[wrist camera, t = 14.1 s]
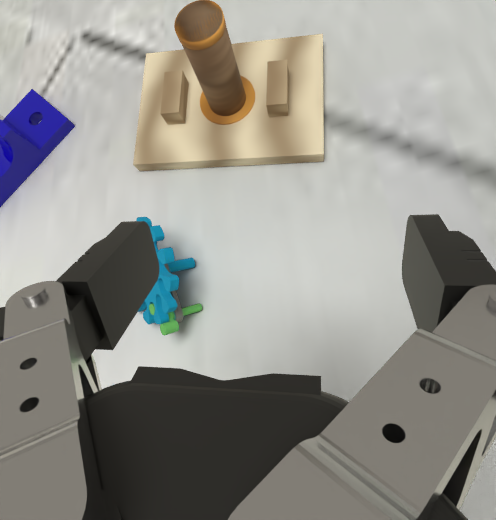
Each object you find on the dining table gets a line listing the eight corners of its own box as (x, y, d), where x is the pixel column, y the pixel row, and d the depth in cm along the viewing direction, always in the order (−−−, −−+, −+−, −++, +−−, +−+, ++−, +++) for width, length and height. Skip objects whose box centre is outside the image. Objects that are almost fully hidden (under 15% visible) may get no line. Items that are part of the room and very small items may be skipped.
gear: (106, 241, 39) (140, 199, 32) (158, 234, 43) (200, 195, 35) (136, 346, 38) (180, 328, 30) (188, 329, 41) (238, 309, 34)
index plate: (322, 44, 42) (322, 17, 39) (323, 161, 39) (323, 143, 35) (151, 63, 46) (138, 40, 42) (139, 171, 42) (124, 155, 39)
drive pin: (247, 80, 41) (224, -4, 31) (245, 115, 40) (221, 39, 30) (209, 84, 41) (176, 3, 32) (207, 118, 40) (172, 45, 31)
